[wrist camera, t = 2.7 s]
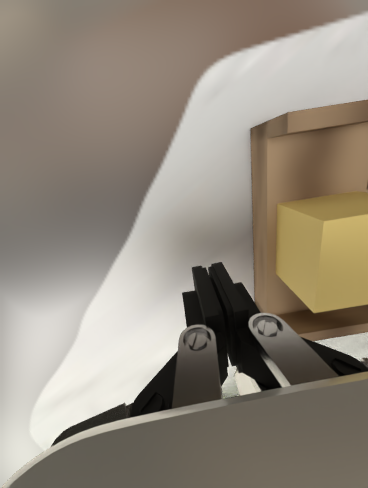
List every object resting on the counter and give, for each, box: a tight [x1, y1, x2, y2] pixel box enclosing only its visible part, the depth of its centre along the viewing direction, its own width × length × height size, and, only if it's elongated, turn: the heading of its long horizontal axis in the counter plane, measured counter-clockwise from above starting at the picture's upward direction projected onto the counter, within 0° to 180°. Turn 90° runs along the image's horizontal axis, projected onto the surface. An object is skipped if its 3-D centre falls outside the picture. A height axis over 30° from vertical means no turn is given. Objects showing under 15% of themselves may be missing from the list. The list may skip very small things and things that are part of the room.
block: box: [276, 191, 368, 313], centre depth 14 cm, size 6×6×5 cm
